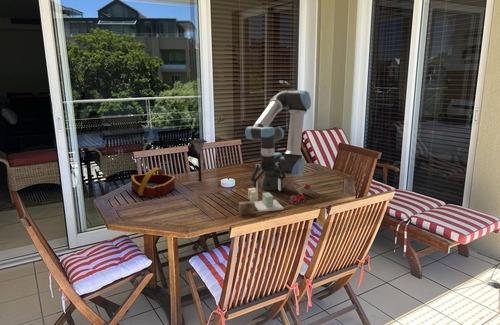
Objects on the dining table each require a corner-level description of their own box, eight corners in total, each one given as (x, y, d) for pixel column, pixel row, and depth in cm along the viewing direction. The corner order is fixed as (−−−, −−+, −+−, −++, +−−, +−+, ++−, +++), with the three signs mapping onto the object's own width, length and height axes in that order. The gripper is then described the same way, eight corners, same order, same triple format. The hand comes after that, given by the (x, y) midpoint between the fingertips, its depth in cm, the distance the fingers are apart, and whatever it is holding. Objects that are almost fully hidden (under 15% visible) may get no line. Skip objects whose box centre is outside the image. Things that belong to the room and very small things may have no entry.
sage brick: (262, 202, 214) (262, 192, 212) (268, 202, 214) (269, 192, 213) (266, 207, 206) (266, 197, 205) (273, 206, 207) (273, 196, 206)
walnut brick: (240, 215, 198) (240, 204, 196) (238, 212, 201) (238, 202, 200) (254, 213, 200) (254, 203, 198) (252, 211, 203) (252, 200, 202)
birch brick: (248, 197, 226) (248, 188, 224) (254, 197, 227) (254, 188, 225) (251, 202, 218) (251, 192, 217) (257, 201, 219) (257, 191, 218)
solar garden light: (210, 181, 261) (209, 140, 254) (193, 183, 257) (191, 141, 250) (206, 177, 272) (204, 137, 266) (189, 179, 268) (188, 138, 261)
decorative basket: (161, 202, 225) (163, 179, 222) (117, 193, 230) (119, 170, 227) (181, 187, 258) (184, 167, 254) (143, 179, 263) (145, 159, 259)
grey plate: (252, 203, 216) (252, 201, 216) (275, 201, 219) (275, 199, 219) (259, 211, 202) (259, 210, 201) (283, 209, 205) (283, 207, 205)
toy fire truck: (289, 203, 216) (289, 187, 213) (306, 198, 224) (306, 183, 221) (293, 204, 213) (293, 188, 211) (310, 200, 221) (310, 184, 219)
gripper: (247, 158, 197) (248, 195, 203) (291, 154, 203) (291, 191, 208) (244, 155, 204) (245, 191, 210) (286, 151, 210) (286, 187, 215)
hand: (268, 191), depth 209 cm, fingers open, 13 cm apart
